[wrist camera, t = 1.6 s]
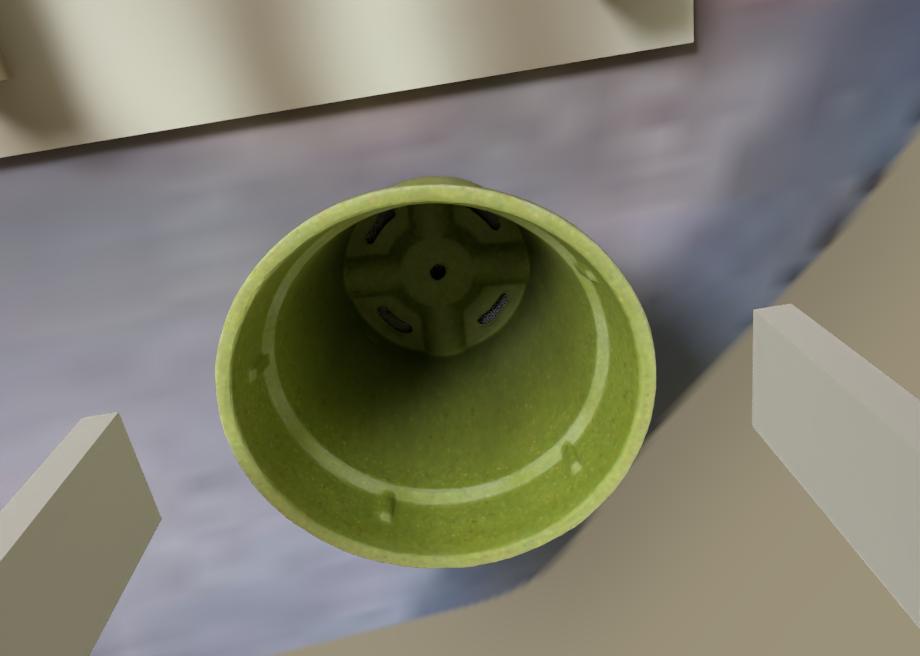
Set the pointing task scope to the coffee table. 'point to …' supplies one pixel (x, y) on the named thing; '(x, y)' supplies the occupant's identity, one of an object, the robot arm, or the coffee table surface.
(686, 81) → the coffee table surface
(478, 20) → the beige rectangular tray
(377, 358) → the plant pot
